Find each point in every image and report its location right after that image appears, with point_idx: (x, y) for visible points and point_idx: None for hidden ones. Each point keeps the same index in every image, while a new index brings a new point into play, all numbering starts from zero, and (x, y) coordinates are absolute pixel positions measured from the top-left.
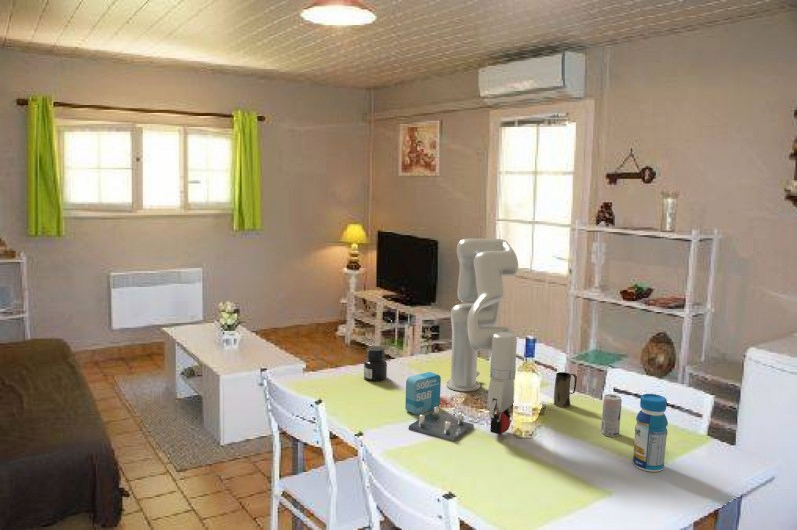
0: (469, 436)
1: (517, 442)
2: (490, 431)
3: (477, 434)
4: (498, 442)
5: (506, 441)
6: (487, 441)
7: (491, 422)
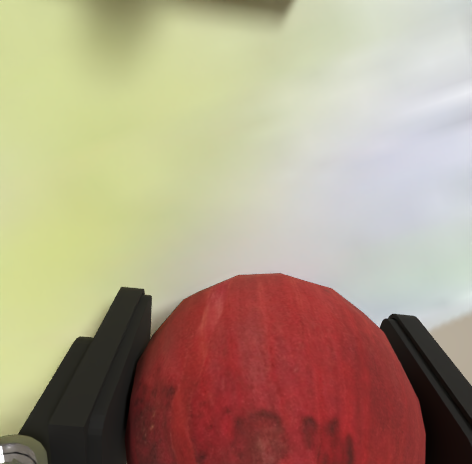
0: (3, 18)
1: None
2: (122, 287)
3: (131, 98)
4: None
5: None
6: (21, 260)
7: (74, 388)
